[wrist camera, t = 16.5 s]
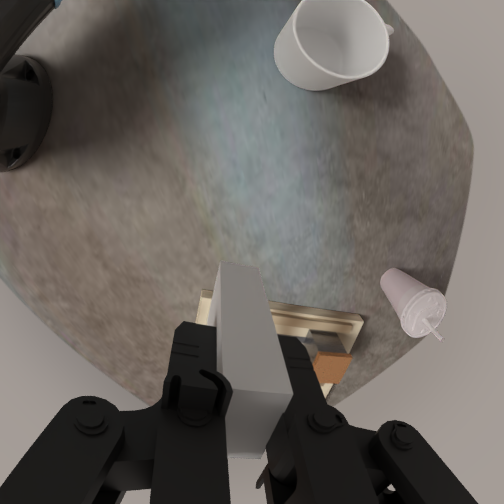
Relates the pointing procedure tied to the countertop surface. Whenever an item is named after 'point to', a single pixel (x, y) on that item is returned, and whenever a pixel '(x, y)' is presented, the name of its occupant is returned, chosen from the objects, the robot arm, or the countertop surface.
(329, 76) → the mug
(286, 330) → the beige flat board
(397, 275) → the smoothie
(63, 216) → the countertop surface
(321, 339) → the block
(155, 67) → the countertop surface
